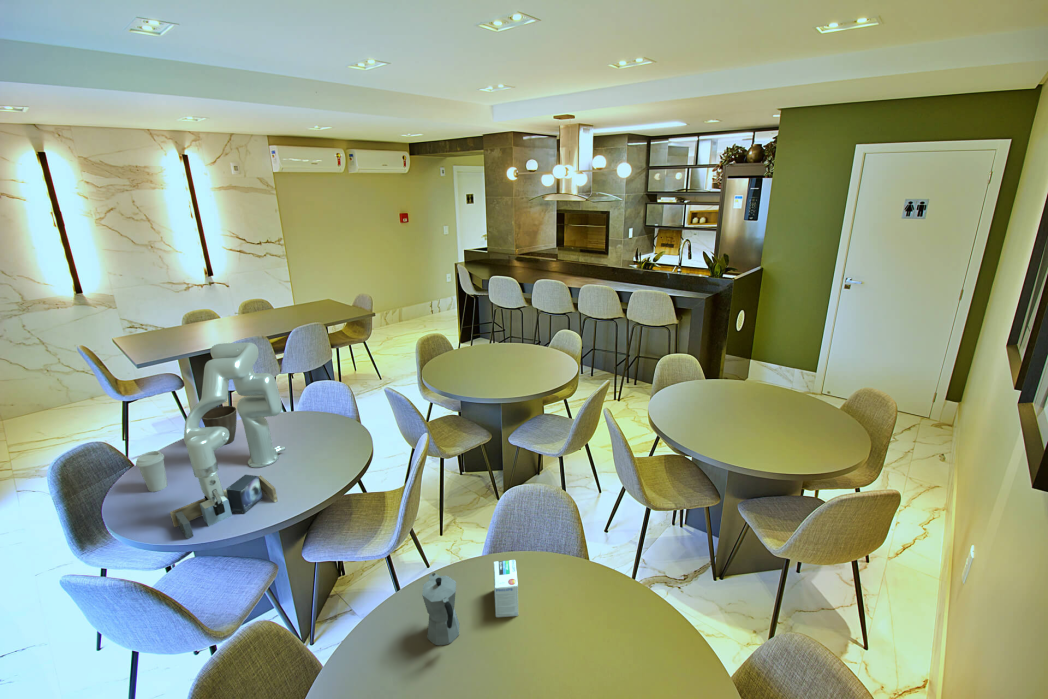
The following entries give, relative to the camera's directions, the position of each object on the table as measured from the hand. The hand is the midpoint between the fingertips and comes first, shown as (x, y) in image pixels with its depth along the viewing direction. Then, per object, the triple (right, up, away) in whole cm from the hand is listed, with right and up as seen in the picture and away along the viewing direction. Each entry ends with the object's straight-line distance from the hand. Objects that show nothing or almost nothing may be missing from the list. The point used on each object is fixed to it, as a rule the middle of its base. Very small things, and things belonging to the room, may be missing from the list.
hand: (215, 508), depth 187 cm
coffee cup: (-38, +2, +22) cm, 44 cm away
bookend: (-7, -7, -6) cm, 11 cm away
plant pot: (-32, +14, +59) cm, 69 cm away
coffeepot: (+94, -19, -51) cm, 108 cm away
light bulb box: (+110, -15, -41) cm, 119 cm away
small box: (+7, -2, +9) cm, 11 cm away
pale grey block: (0, -4, +1) cm, 4 cm away
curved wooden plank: (+2, -3, +4) cm, 5 cm away
